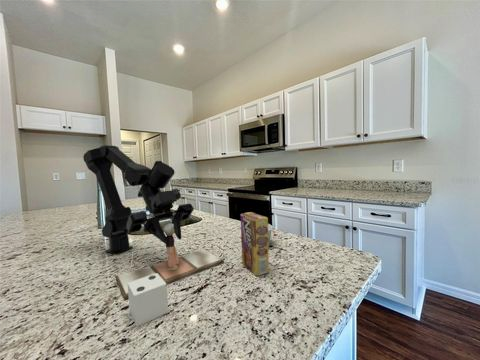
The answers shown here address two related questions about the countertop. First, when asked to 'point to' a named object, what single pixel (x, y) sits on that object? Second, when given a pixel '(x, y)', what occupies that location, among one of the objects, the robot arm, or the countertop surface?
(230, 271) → the countertop surface
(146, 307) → the white die
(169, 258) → the grandmother figurine
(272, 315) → the countertop surface
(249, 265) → the candy box
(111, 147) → the robot arm
